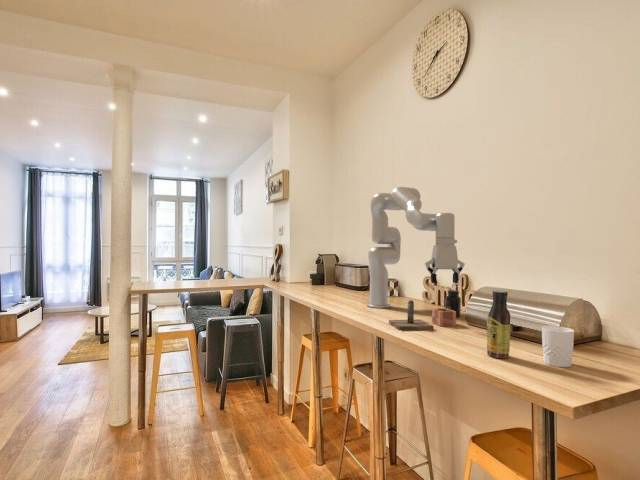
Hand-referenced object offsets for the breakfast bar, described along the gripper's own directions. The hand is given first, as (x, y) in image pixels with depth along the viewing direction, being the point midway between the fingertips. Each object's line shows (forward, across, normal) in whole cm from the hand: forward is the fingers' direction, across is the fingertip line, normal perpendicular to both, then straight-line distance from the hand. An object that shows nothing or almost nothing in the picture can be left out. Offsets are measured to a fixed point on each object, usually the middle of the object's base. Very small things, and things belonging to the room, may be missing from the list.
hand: (444, 283), depth 154 cm
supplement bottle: (+17, -13, -16) cm, 27 cm away
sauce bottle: (+18, +5, +43) cm, 46 cm away
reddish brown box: (+17, 0, 0) cm, 17 cm away
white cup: (+18, -8, +51) cm, 54 cm away
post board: (+17, +16, +3) cm, 24 cm away
